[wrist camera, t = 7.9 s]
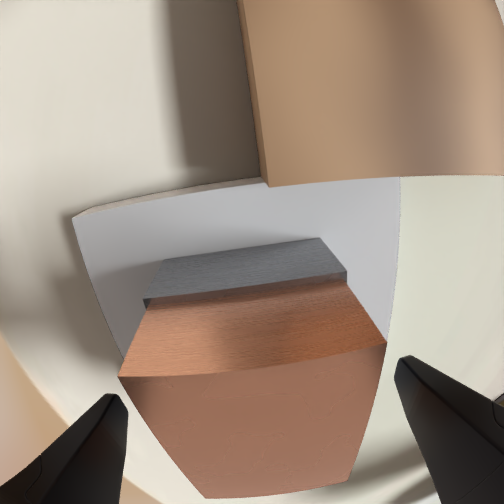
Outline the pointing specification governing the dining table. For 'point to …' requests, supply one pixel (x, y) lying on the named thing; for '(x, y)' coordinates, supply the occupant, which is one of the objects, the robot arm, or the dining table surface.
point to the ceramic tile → (240, 237)
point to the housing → (256, 368)
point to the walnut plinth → (374, 88)
